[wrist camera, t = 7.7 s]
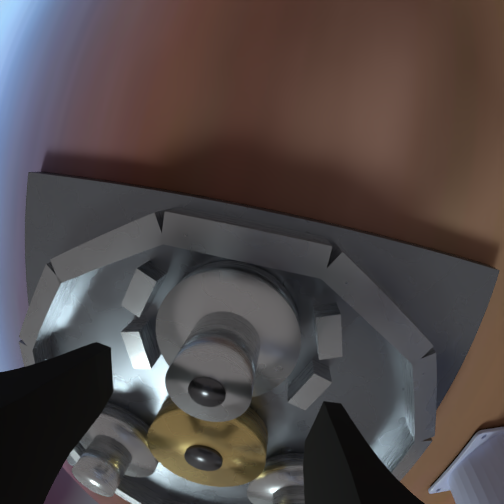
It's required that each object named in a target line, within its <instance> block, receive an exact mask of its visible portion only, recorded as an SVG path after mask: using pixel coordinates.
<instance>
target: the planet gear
mask: <svg viewBox="0 0 504 504" xmlns="http://www.w3.org/2000/svg"><path fill="white" fill-rule="evenodd" d="M156 338H157V342H158V346H159V349H160V351H161V354H162V356H163V358H164V359H165V361H166V363H167V364H168V365H169V368H168V370H167V373H166V376H165V386H166V390H167V392H168V394H169V396H170V398H171V399H172V401H173V402H174V403H175V404H176V405H177V406H178V407H179V408H180V409H181V410H183V411H184V412H186V413H187V414H189V415H191V416H193V417H195V418H198V419H201V420H205V421H210V422H224V421H229V420H233V419H235V418H237V417H239V416H241V415H242V414H243V413H244V412H245V411H246V410H247V409H248V407H249V405H250V403H251V399H252V397H255V396H259V395H262V394H264V393H266V392H269V391H271V390H272V389H274V388H276V387H277V386H279V385H280V384H281V383H282V382H283V381H284V380H285V379H286V378H287V377H288V376H289V375H290V374H291V372H292V370H293V369H294V367H295V365H296V363H297V361H298V358H299V354H300V348H301V333H300V321H299V315H298V310H297V307H296V305H295V302H294V300H293V298H292V297H291V295H290V293H289V292H288V291H287V289H286V288H285V287H284V286H283V285H282V284H281V282H280V281H278V280H277V279H276V278H275V277H274V276H272V275H271V274H269V273H268V272H266V271H264V270H262V269H260V268H258V267H256V266H253V265H250V264H247V263H242V262H236V261H220V262H214V263H209V264H206V265H203V266H201V267H199V268H197V269H195V270H193V271H192V272H190V273H189V274H187V275H186V276H185V277H184V278H183V279H182V280H181V281H180V282H179V283H178V284H177V285H176V286H175V287H174V288H173V289H172V290H171V291H170V292H169V293H168V294H167V296H166V297H165V298H164V300H163V302H162V304H161V305H160V308H159V311H158V314H157V318H156Z"/></svg>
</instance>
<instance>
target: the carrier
mask: <svg viewBox="0 0 504 504" xmlns="http://www.w3.org/2000/svg"><path fill="white" fill-rule="evenodd" d="M25 261H26V280H27V293H28V303H29V308H28V311H27V314H26V317H25V320H24V323H23V326H22V329H21V332H20V335H19V337H20V338H21V339H22V340H20V341H19V344H20V349H21V353H22V358H23V362H24V366H25V367H26V366H29V365H32V364H35V363H39V362H42V361H45V360H48V359H51V358H54V357H56V356H59V355H62V354H64V353H67V352H70V351H72V350H75V349H78V348H80V347H83V346H86V345H89V344H91V343H95V342H98V343H101V344H103V345H106V346H108V347H111V359H112V376H113V389H114V392H113V393H112V395H111V397H110V399H109V401H108V403H107V404H106V406H105V408H104V410H103V411H102V413H101V414H100V415H99V417H98V418H97V419H96V421H95V422H94V423H93V425H92V426H91V427H90V429H89V430H88V431H87V432H86V434H85V435H84V436H83V437H82V439H81V440H80V441H79V443H78V444H77V445H76V446H75V448H74V449H73V450H72V452H71V453H70V454H69V456H68V457H67V461H68V463H69V464H70V465H72V466H74V467H73V469H72V473H73V475H74V476H75V478H76V479H77V480H78V481H79V482H80V483H82V484H83V485H84V486H85V487H87V488H88V489H90V490H92V491H93V492H95V493H98V494H100V495H103V496H107V497H111V496H113V495H114V493H115V494H117V495H118V496H120V497H122V498H123V499H125V500H127V501H128V502H130V503H132V504H305V499H304V479H303V458H304V446H305V440H306V438H307V436H308V434H309V432H310V429H311V427H312V425H313V423H314V421H315V419H316V417H317V414H318V412H319V410H320V408H321V405H322V403H323V401H327V402H335V403H341V404H342V405H343V407H344V408H345V410H346V411H347V413H348V415H349V416H350V418H351V419H352V421H353V422H354V424H355V425H356V427H357V428H358V430H359V431H360V433H361V434H362V436H363V437H364V439H365V440H366V441H367V443H368V444H369V446H370V447H371V448H372V450H373V451H374V452H375V454H376V455H377V456H378V458H379V459H380V460H381V461H382V462H383V464H384V465H385V466H386V467H387V468H388V470H389V471H390V472H391V473H392V474H393V475H394V476H395V477H396V478H397V479H398V480H399V481H400V480H401V479H402V478H403V477H404V476H405V475H406V473H407V472H408V471H409V470H410V469H411V467H412V466H413V465H414V464H415V463H416V461H417V460H418V459H419V458H420V456H421V455H422V454H423V452H424V451H425V450H426V449H427V447H428V446H429V445H430V443H431V442H432V439H431V437H433V436H434V435H435V421H436V410H437V408H438V406H439V405H440V403H441V401H442V400H443V398H444V396H445V395H446V393H447V391H448V389H449V388H450V386H451V384H452V382H453V380H454V379H455V377H456V375H457V373H458V371H459V369H460V367H461V365H462V363H463V361H464V359H465V357H466V355H467V353H468V351H469V349H470V347H471V344H472V342H473V340H474V338H475V335H476V333H477V331H478V328H479V326H480V324H481V321H482V319H483V316H484V314H485V311H486V309H487V306H488V303H489V301H490V298H491V295H492V292H493V289H494V286H495V283H496V280H497V277H498V274H499V270H497V269H495V268H493V267H491V266H490V265H486V264H483V263H480V262H476V261H473V260H470V259H466V258H463V257H460V256H456V255H453V254H449V253H446V252H442V251H439V250H435V249H431V248H428V247H424V246H420V245H417V244H413V243H409V242H405V241H402V240H398V239H394V238H390V237H386V236H382V235H378V234H374V233H370V232H366V231H362V230H358V229H354V228H350V227H346V226H341V225H337V224H333V223H329V222H324V221H320V220H316V219H311V218H307V217H302V216H298V215H293V214H289V213H284V212H279V211H274V210H270V209H265V208H260V207H255V206H250V205H245V204H240V203H235V202H230V201H225V200H220V199H214V198H209V197H204V196H198V195H193V194H187V193H181V192H176V191H170V190H164V189H158V188H152V187H146V186H140V185H133V184H127V183H120V182H114V181H107V180H100V179H93V178H86V177H78V176H71V175H63V174H55V173H46V172H29V173H28V183H27V196H26V214H25ZM220 261H236V262H242V263H247V264H250V265H253V266H256V267H258V268H260V269H262V270H264V271H266V272H268V273H269V274H271V275H272V276H274V277H275V278H276V279H277V280H278V281H280V282H281V284H282V285H283V286H284V287H285V288H286V289H287V291H288V292H289V293H290V295H291V297H292V298H293V300H294V302H295V305H296V307H297V310H298V315H299V321H300V333H301V348H300V354H299V358H298V361H297V363H296V365H295V367H294V369H293V370H292V372H291V374H290V375H289V376H288V377H287V378H286V379H285V380H284V381H283V382H282V383H281V384H280V385H279V386H277V387H276V388H274V389H272V390H271V391H269V392H266V393H264V394H262V395H259V396H255V397H252V399H251V403H250V405H249V407H248V409H247V410H246V411H245V412H244V413H243V414H242V415H241V416H239V417H237V418H235V419H233V420H229V421H224V422H210V421H205V420H201V419H198V418H195V417H193V416H191V415H189V414H187V413H186V412H184V411H183V410H181V409H180V408H179V407H178V406H177V405H176V404H175V403H174V402H173V401H172V399H171V398H170V396H169V394H168V392H167V390H166V386H165V376H166V373H167V370H168V368H169V365H168V364H167V363H166V361H165V359H164V358H163V356H162V354H161V351H160V349H159V346H158V342H157V338H156V318H157V314H158V311H159V308H160V305H161V304H162V302H163V300H164V298H165V297H166V296H167V294H168V293H169V292H170V291H171V290H172V289H173V288H174V287H175V286H176V285H177V284H178V283H179V282H180V281H181V280H182V279H183V278H184V277H185V276H186V275H187V274H189V273H190V272H192V271H193V270H195V269H197V268H199V267H201V266H203V265H206V264H209V263H214V262H220Z"/></svg>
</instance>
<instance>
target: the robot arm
mask: <svg viewBox="0 0 504 504" xmlns="http://www.w3.org/2000/svg"><path fill="white" fill-rule="evenodd" d="M113 392H114V389H113V376H112V359H111V347H108V346H106V345H103V344H101V343H98V342H95V343H91V344H89V345H86V346H83V347H80V348H78V349H75V350H72V351H70V352H67V353H64V354H62V355H59V356H56V357H54V358H51V359H48V360H45V361H42V362H39V363H35V364H32V365H29V366H26V367H22V368H19V369H14V370H10V371H5V372H0V504H43V503H44V501H45V499H46V496H47V494H48V492H49V490H50V488H51V486H52V484H53V482H54V480H55V478H56V476H57V474H58V473H59V471H60V469H61V467H62V466H63V464H64V462H65V460H66V459H67V457H68V456H69V454H70V453H71V452H72V450H73V449H74V448H75V446H76V445H77V444H78V443H79V441H80V440H81V439H82V437H83V436H84V435H85V434H86V432H87V431H88V430H89V429H90V427H91V426H92V425H93V423H94V422H95V421H96V419H97V418H98V417H99V415H100V414H101V413H102V411H103V410H104V408H105V406H106V404H107V403H108V401H109V399H110V397H111V395H112V393H113ZM303 479H304V499H305V504H424V503H423V502H422V501H421V500H419V499H418V498H417V497H416V496H414V495H413V494H412V493H411V492H410V491H409V490H408V489H407V488H406V487H405V486H404V485H403V484H402V483H401V482H400V481H399V480H398V479H397V478H396V477H395V476H394V475H393V474H392V473H391V472H390V471H389V470H388V468H387V467H386V466H385V465H384V464H383V462H382V461H381V460H380V459H379V458H378V456H377V455H376V454H375V452H374V451H373V450H372V448H371V447H370V446H369V444H368V443H367V441H366V440H365V439H364V437H363V436H362V434H361V433H360V431H359V430H358V428H357V427H356V425H355V424H354V422H353V421H352V419H351V418H350V416H349V415H348V413H347V411H346V410H345V408H344V407H343V405H342V404H341V403H335V402H327V401H323V403H322V405H321V408H320V410H319V412H318V414H317V417H316V419H315V421H314V423H313V425H312V427H311V429H310V432H309V434H308V436H307V438H306V440H305V446H304V458H303ZM448 490H451V492H452V495H453V497H454V500H455V503H456V504H504V427H498V428H492V429H485V430H480V431H478V432H477V433H476V434H475V435H474V436H473V437H472V439H471V440H470V441H469V443H468V444H467V445H466V447H465V448H464V449H463V450H462V452H461V453H460V454H459V455H458V457H457V458H456V459H455V460H454V461H453V463H452V464H451V465H450V466H449V467H448V468H447V470H446V471H445V472H444V473H443V474H442V475H441V476H440V477H439V479H438V480H437V481H436V482H435V483H434V484H433V485H432V486H431V487H430V488H429V489H428V492H429V493H430V494H432V493H437V492H443V491H448Z"/></svg>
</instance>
